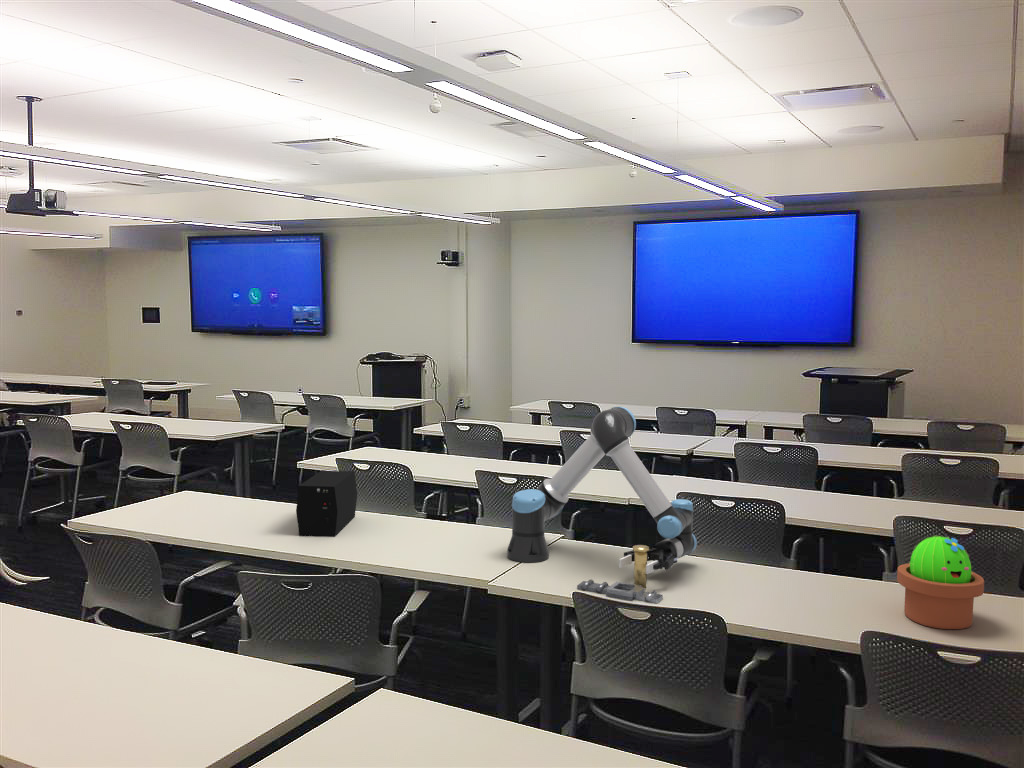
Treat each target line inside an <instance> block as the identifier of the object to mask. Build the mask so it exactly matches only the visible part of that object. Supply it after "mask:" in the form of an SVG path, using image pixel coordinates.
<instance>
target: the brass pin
mask: <svg viewBox="0 0 1024 768" xmlns="http://www.w3.org/2000/svg"><path fill="white" fill-rule="evenodd" d="M649 549H650V546H648V545H644V544H637V545H636V544H635V545H633V546H632V550H633V551H635V558H634V561H633V562H634V563H633V564H634V568H633V584H636V585H641V586H642V588H644V589H647V579H648V578H647V575H648V574H647V573H646V565H647V564H648V561H647V552H649Z"/></svg>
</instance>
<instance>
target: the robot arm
mask: <svg viewBox="0 0 1024 768" xmlns="http://www.w3.org/2000/svg"><path fill="white" fill-rule="evenodd" d="M635 417H636V416H635V415H634V414H633V412H632V411H631V410H630V409H628V408H626V407H622V406H614V407H611V408H609V409H605V410H602V411H600V412H598V414H597V415H595V417H594V418H593V420H592V424H591V427H590V435H589V436H588V437H587V439H586V440H584V442H583V443H582V444H581V445H580V446H579V447H578V448H577V450H575V451H574V453H573V454H571V456H570V457H569V459H568V460H567V461H565V463H564V464H563V465H562V466H561V467H560V468H559V470H557V472H556V473H555V474H554V475H552V477H551V478H545V479H544V480H543V481H542V482H541V483H540V484H539V485H538V486H537V488H536V489H533V488H532V489H529V488H528V489H523V490H519V491H517V492H516V493H514V494H513V496H512V502H511V509H512V511H511V516H512V517H511V524H512V525H511V526H512V527H511V531H512V532H511V537H510V540H509V543H508V547H507V549H506V552H507V553H506V557H507V558H508V559H509V560H511V561H514V562H519V563H539V562H543V561H546V560H548V559H549V557H550V550H549V547H548V543H547V540H546V536H545V522H547V521H548V520H551V519H553V518H555V517H556V516H558V515H559V514H560V513H561V512H562V511H563V509H564V506H565V505H566V504H567V503H568V501H569V495H570V493H571V492H572V491H573V490H574V489H575V488H576V487H577V486H578V484H579V483H580V482H582V481H583V479H584V478H585V477H586V476H587V475H588V474H589V473H590V471H592V469H593V468H594V467H595V466H596V465H597V464H598V463H599V462H600V461H601V460H602V459H603V457H604V456H607V457H610V458H611V459H612V462H614V464H615V465H616V467H618V469H619V471H620V472H621V473H622V475H623V476H624V478H625V479H626V481H627V482H628V484H629V485H630V486H631V488H632V489H633V491H634V492H635V493H636V495H637V496H638V498H639V499H640V501H641V502H642V503H643V505H644V507H645V508H646V509H647V511H648V513H649V514H650V515H651V516H652V518H653V520H654V521H655V522H656V524H657V526H656V529H657V532H658V533H659V535H660V536H661V537H662V538H664V540H661V541H659V542H657V543H655V545H653V547H652V548H649V552H647V562H649V561H651V562H649V563H647V565H646V573H647V575H648V574H650V573H653V572H655V571H658V570H662V569H664V570H666V571H668V570H669V569H670V568H672V567H673V565H674V564H677V563H678V559H680V558H682V557H685V556H688V555H689V554H691V553H692V552H694V550H696V548H697V546H698V541H697V538H696V536H695V534H693V522H694V519H693V517H694V504H693V501H691V500H689V499H683V498H682V499H680V498H679V499H678V498H676V499H673V500H672V501H671V502H670V500H669V499H668V498H667V496H666V495H665V493H664V492H663V490H662V489H661V487H660V486H659V485H658V483H657V481H656V480H655V479H654V478H653V476H652V474H651V473H650V472H649V470H648V469H647V468H646V466H645V465H644V463H643V462H642V461H641V459H640V457H639V456H638V455H637V453H636V452H635V451H634V449H633V448H632V446H631V445H630V437H632V435H633V434H634V432H635V430H636V428H637V421H636V418H635ZM634 558H635V551H633V549H632V550H628V551H625V552H623V557H621V558H619V559H618V560H619V561H618V567H619V568H620V569H621V568H624V567H626V566H628V565H631V564H632V563H633V562H634Z"/></svg>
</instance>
